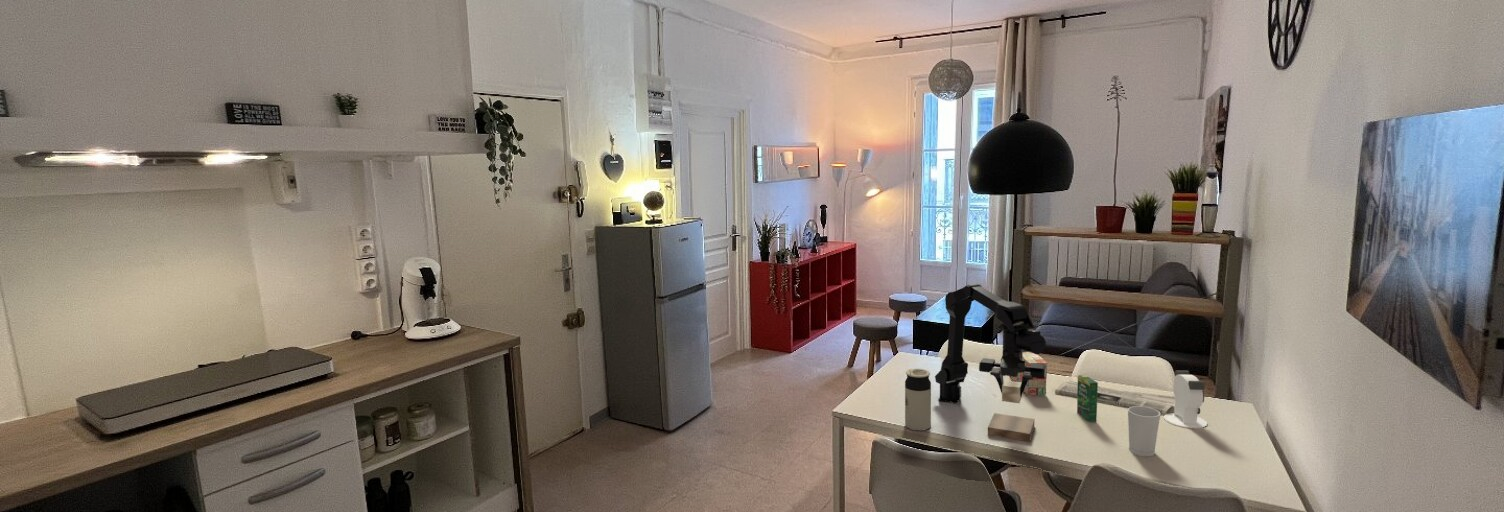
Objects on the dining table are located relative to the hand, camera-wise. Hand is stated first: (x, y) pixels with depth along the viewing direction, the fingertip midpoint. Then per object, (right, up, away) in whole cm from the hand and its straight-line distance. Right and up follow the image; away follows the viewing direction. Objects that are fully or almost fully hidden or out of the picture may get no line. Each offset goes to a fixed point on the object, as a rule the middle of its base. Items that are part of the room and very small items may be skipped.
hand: (1011, 394), depth 203 cm
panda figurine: (+56, -9, +3) cm, 57 cm away
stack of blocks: (+21, -5, +40) cm, 46 cm away
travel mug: (-27, -12, +8) cm, 31 cm away
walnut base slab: (+1, -12, +2) cm, 12 cm away
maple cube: (0, -2, 0) cm, 2 cm away
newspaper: (+45, -7, +24) cm, 51 cm away
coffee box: (+28, -10, +9) cm, 31 cm away
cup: (+31, -13, -15) cm, 37 cm away
